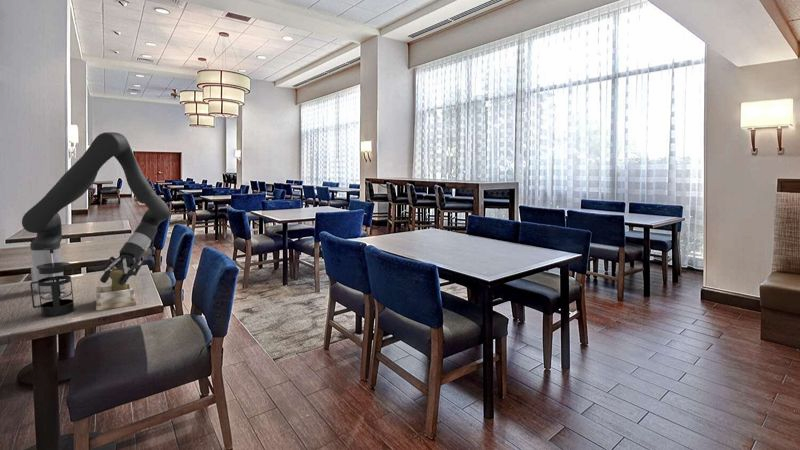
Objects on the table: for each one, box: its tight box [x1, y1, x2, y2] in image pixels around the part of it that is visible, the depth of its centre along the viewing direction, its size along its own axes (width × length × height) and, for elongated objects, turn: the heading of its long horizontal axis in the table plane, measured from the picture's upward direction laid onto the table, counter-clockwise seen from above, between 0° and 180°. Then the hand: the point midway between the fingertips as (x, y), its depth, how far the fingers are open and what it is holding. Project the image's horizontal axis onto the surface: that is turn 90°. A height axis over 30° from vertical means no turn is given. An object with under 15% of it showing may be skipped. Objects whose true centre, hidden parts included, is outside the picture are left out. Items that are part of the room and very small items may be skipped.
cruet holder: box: [95, 281, 137, 311], centre depth 158 cm, size 12×14×6 cm
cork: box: [109, 270, 128, 292], centre depth 157 cm, size 6×6×11 cm
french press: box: [29, 247, 76, 318], centre depth 145 cm, size 12×9×23 cm
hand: (111, 283), depth 156 cm, fingers open, 8 cm apart
